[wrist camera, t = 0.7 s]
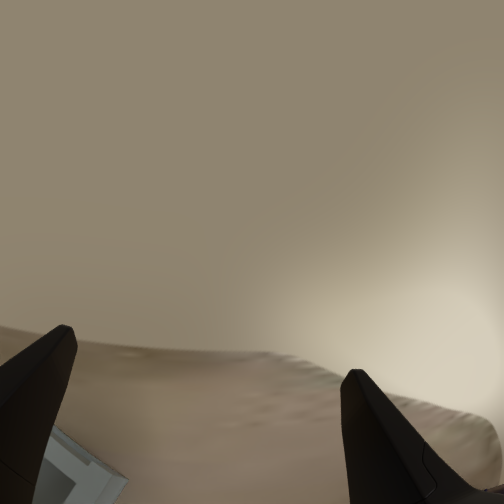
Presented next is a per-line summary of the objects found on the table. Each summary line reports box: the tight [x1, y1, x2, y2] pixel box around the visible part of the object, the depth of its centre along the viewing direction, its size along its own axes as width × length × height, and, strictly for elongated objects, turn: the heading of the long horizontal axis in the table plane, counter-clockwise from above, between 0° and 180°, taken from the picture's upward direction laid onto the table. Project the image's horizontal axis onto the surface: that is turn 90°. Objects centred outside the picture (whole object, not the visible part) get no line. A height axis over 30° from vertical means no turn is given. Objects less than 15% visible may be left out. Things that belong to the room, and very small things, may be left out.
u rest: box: [32, 425, 129, 504], centre depth 11 cm, size 12×13×6 cm
